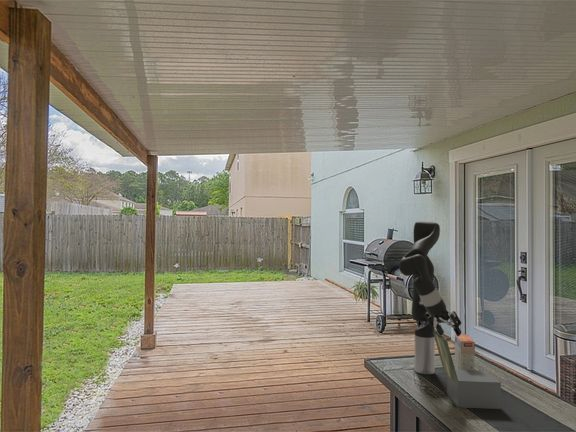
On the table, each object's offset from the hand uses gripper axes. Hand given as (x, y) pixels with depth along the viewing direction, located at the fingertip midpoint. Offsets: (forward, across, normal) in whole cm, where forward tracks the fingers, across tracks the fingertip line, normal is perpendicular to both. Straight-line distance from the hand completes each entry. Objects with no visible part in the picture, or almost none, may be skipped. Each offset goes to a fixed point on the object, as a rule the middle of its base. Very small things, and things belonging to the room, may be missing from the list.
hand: (450, 334), depth 170 cm
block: (+27, 0, +7) cm, 28 cm away
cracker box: (+32, +13, -5) cm, 35 cm away
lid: (+7, +3, +5) cm, 9 cm away
